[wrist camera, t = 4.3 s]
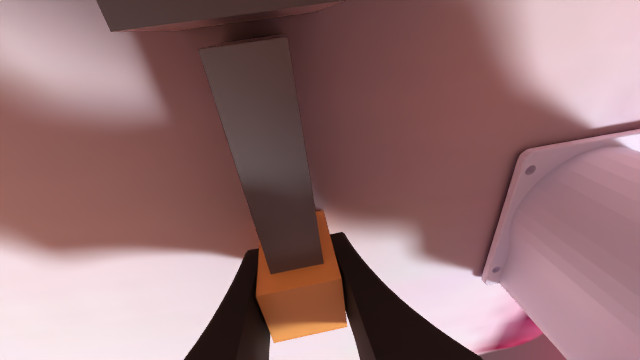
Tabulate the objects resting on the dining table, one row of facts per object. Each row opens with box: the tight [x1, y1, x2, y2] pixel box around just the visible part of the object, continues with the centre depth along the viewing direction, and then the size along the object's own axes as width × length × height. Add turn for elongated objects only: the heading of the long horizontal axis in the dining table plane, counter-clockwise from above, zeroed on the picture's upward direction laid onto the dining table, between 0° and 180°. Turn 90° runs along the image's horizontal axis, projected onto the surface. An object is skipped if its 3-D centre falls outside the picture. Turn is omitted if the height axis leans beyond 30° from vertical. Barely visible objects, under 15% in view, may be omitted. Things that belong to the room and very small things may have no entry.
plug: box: [97, 0, 347, 343], centre depth 8 cm, size 16×4×4 cm, turn 7°
